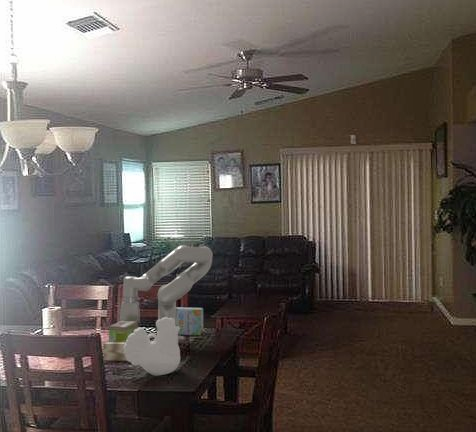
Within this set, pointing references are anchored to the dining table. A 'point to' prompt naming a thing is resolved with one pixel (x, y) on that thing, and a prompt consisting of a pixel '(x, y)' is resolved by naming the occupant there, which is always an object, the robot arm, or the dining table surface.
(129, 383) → the dining table surface
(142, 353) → the decorative rooster
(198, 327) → the snack box
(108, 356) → the maple board
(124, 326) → the tea box
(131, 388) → the dining table surface
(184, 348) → the dining table surface
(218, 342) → the dining table surface
